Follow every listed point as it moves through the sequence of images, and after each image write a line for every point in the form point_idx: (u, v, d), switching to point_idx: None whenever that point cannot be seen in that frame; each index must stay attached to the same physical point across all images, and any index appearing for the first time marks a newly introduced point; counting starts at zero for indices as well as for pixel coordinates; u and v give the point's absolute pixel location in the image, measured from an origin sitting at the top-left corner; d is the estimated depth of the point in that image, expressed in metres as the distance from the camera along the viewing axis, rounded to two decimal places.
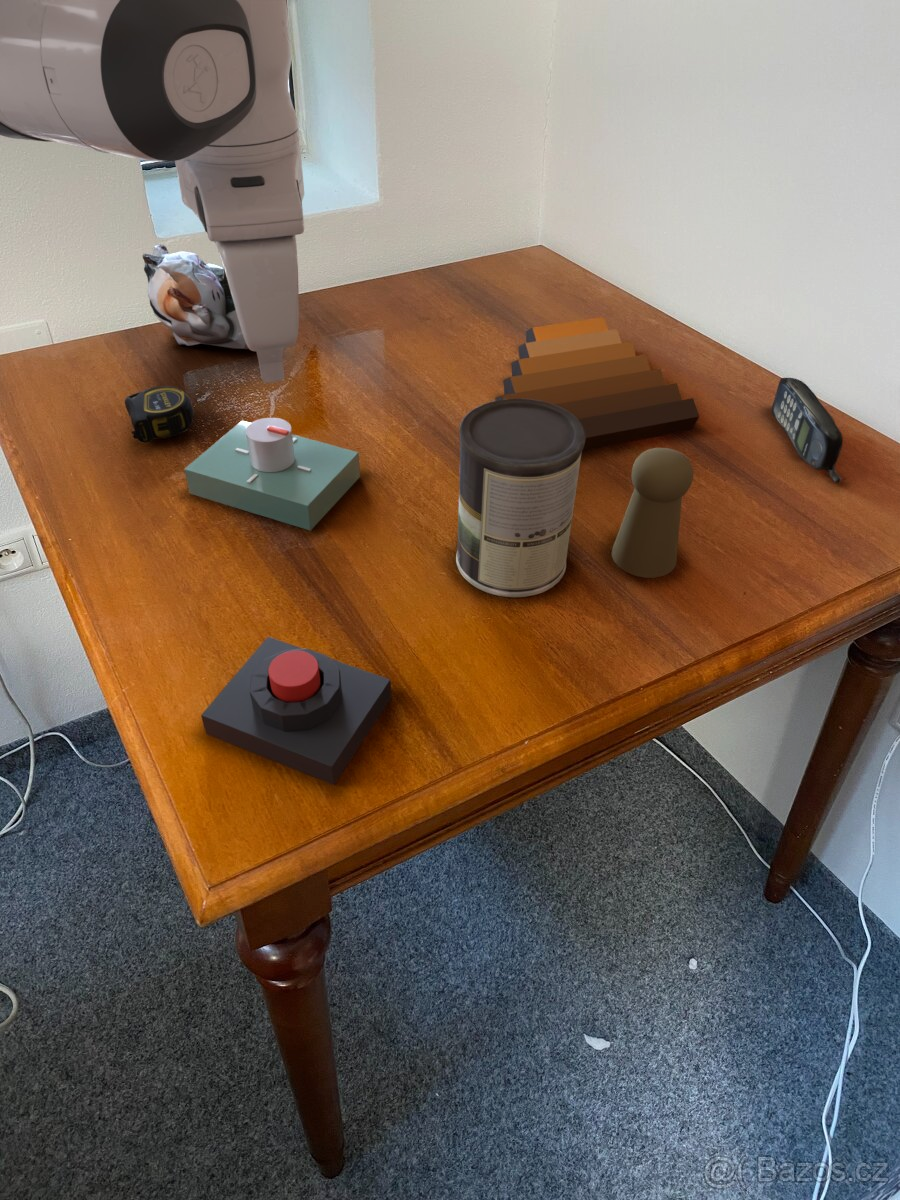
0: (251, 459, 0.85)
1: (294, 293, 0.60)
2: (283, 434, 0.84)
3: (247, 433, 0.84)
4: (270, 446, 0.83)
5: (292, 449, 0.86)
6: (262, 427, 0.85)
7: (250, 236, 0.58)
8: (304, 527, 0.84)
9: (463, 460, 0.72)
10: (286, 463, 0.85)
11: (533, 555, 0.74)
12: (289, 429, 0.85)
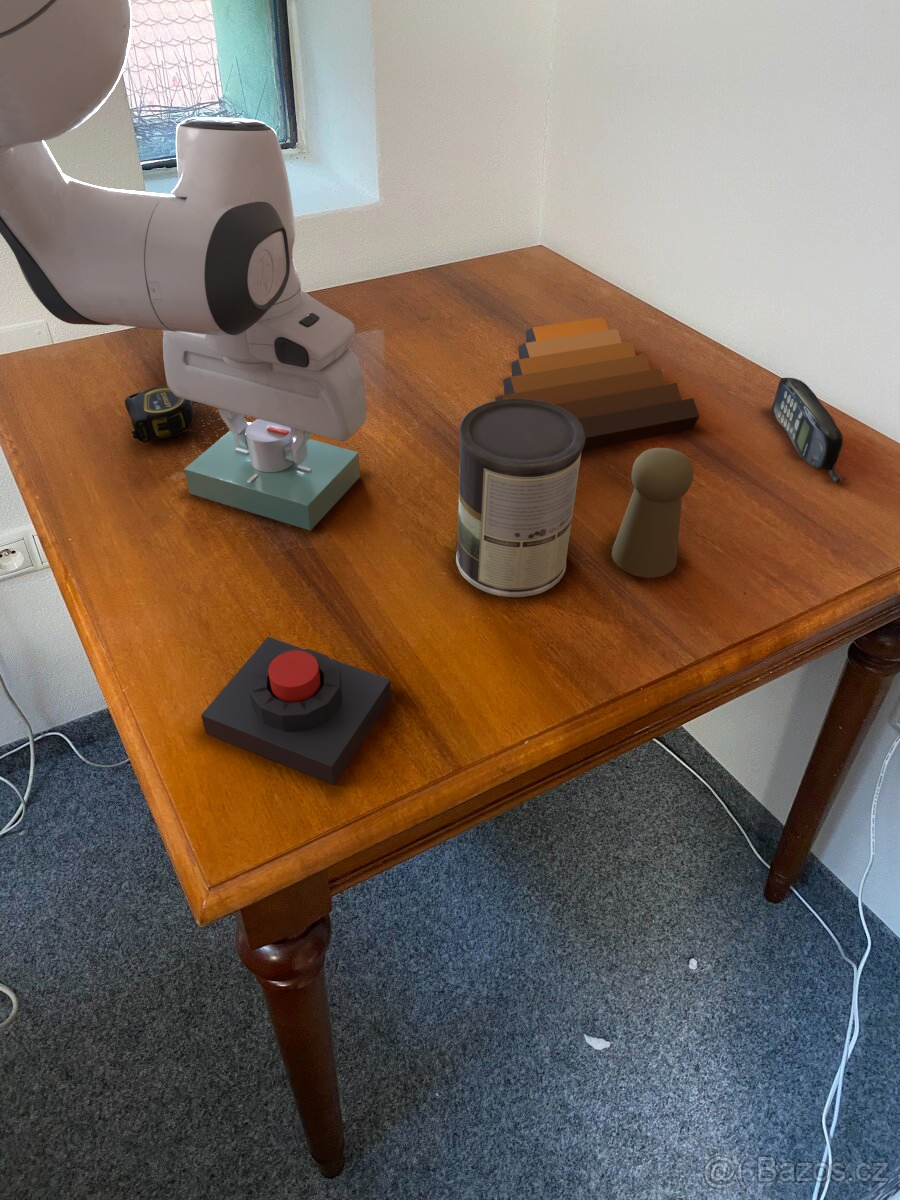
0: (251, 459, 0.85)
1: (363, 385, 0.79)
2: (283, 434, 0.84)
3: (247, 433, 0.84)
4: (270, 446, 0.83)
5: None
6: (262, 427, 0.85)
7: (338, 356, 0.75)
8: (304, 527, 0.84)
9: (463, 460, 0.72)
10: (286, 463, 0.85)
11: (533, 555, 0.74)
12: (289, 429, 0.85)
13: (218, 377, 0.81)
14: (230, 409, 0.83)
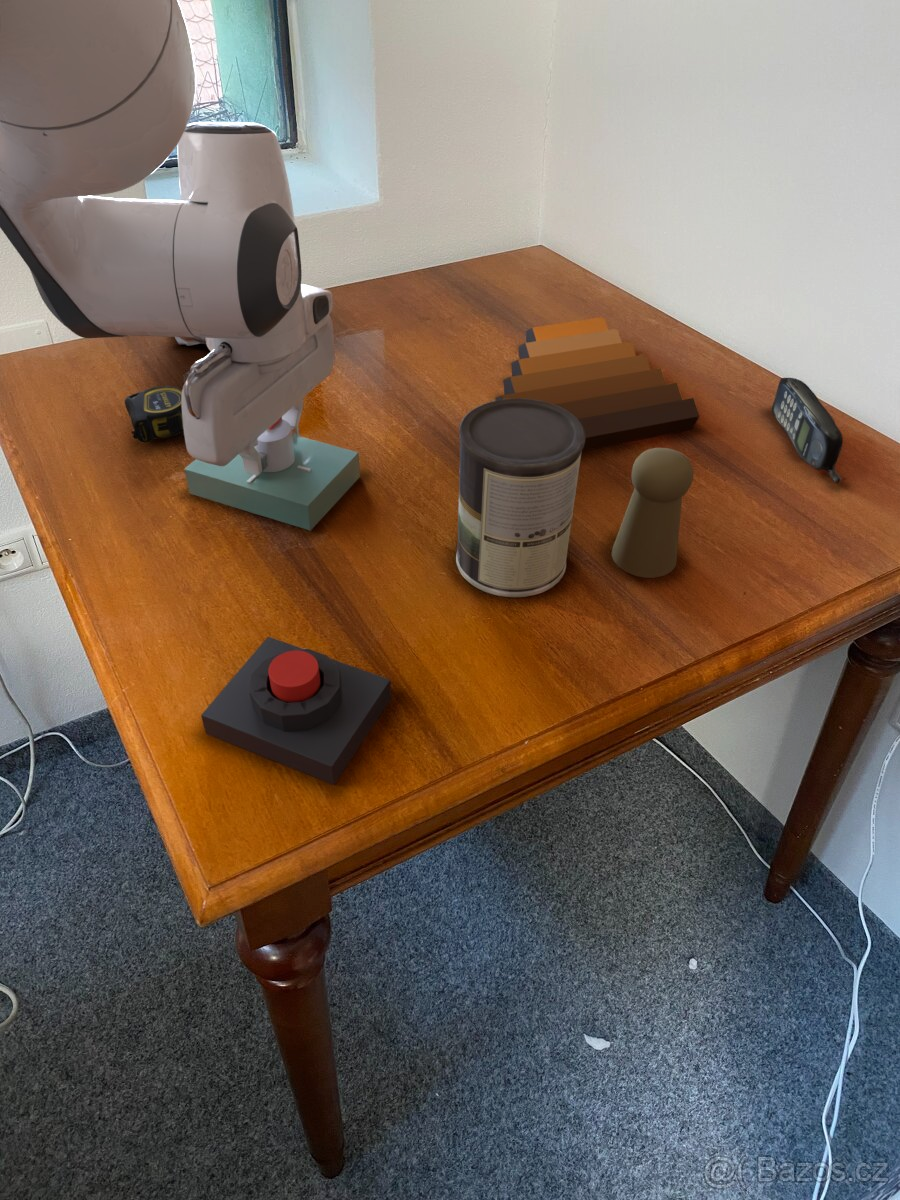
0: (281, 463, 0.85)
1: None
2: (279, 420, 0.86)
3: (274, 440, 0.83)
4: None
5: None
6: (264, 432, 0.84)
7: None
8: (304, 527, 0.84)
9: (463, 460, 0.72)
10: None
11: (533, 555, 0.74)
12: None
13: (257, 400, 0.78)
14: (266, 428, 0.81)
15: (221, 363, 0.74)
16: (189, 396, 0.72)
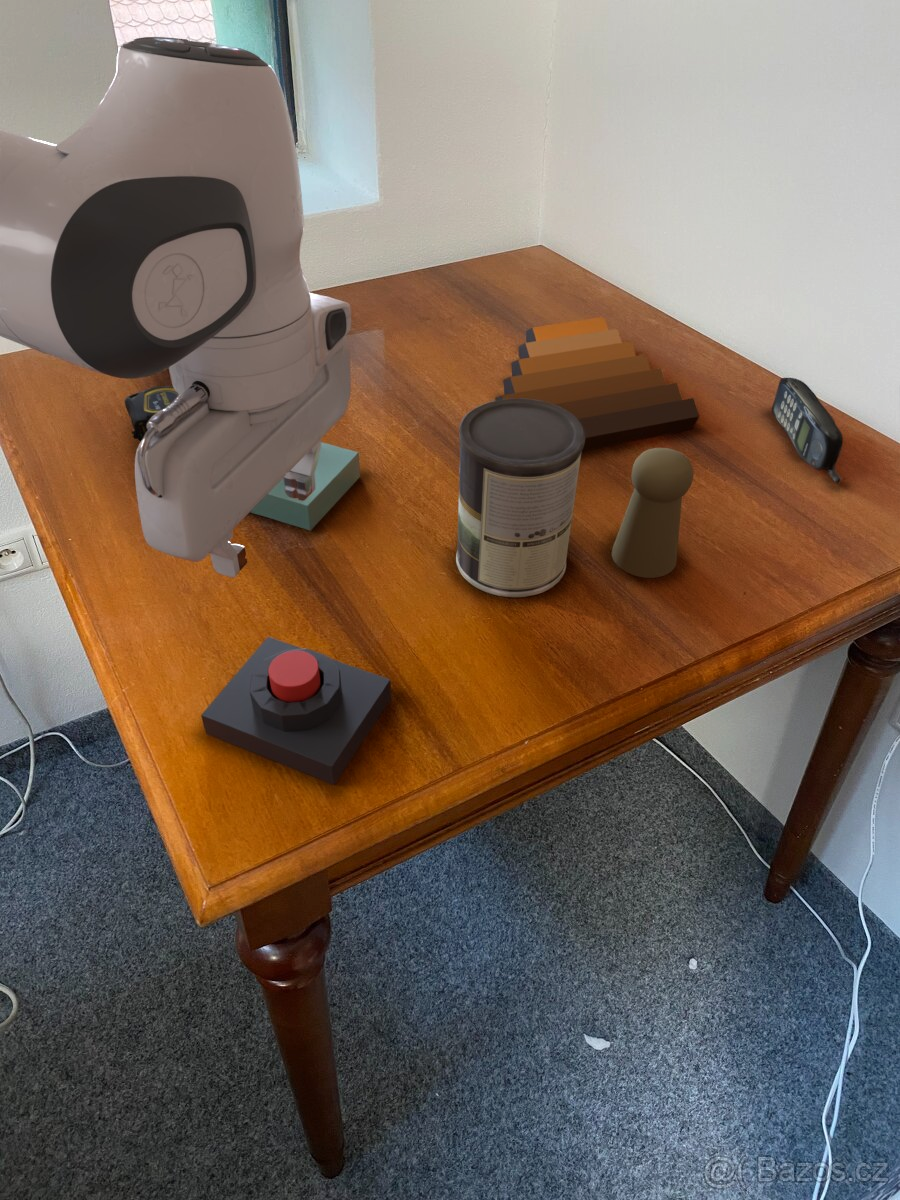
0: None
1: None
2: None
3: None
4: None
5: None
6: None
7: None
8: (304, 527, 0.84)
9: (463, 460, 0.72)
10: None
11: (533, 555, 0.74)
12: None
13: (247, 463, 0.54)
14: (260, 499, 0.57)
15: (194, 413, 0.50)
16: (146, 466, 0.47)
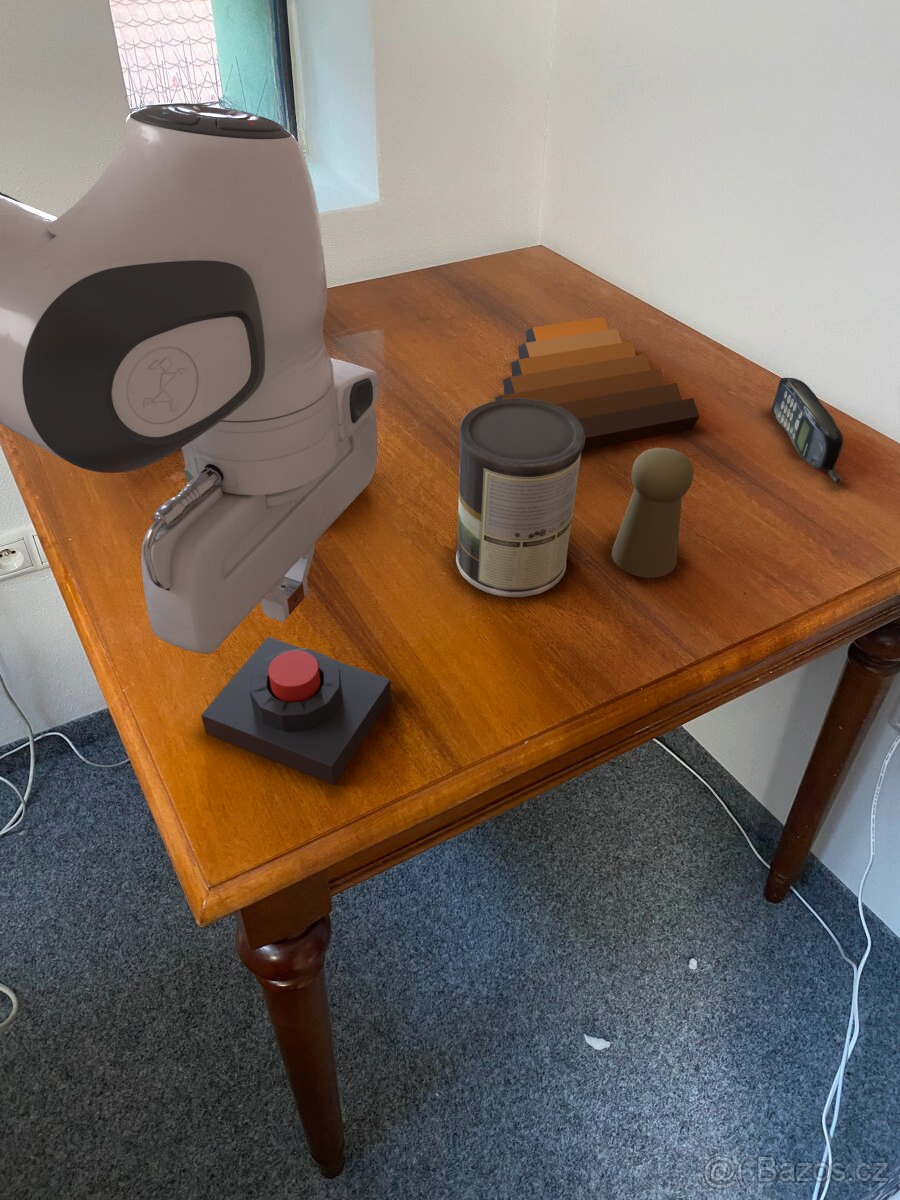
0: None
1: None
2: None
3: None
4: None
5: None
6: None
7: None
8: None
9: (463, 460, 0.72)
10: None
11: (533, 555, 0.74)
12: None
13: (264, 546, 0.50)
14: (277, 581, 0.53)
15: (206, 499, 0.46)
16: (152, 561, 0.44)
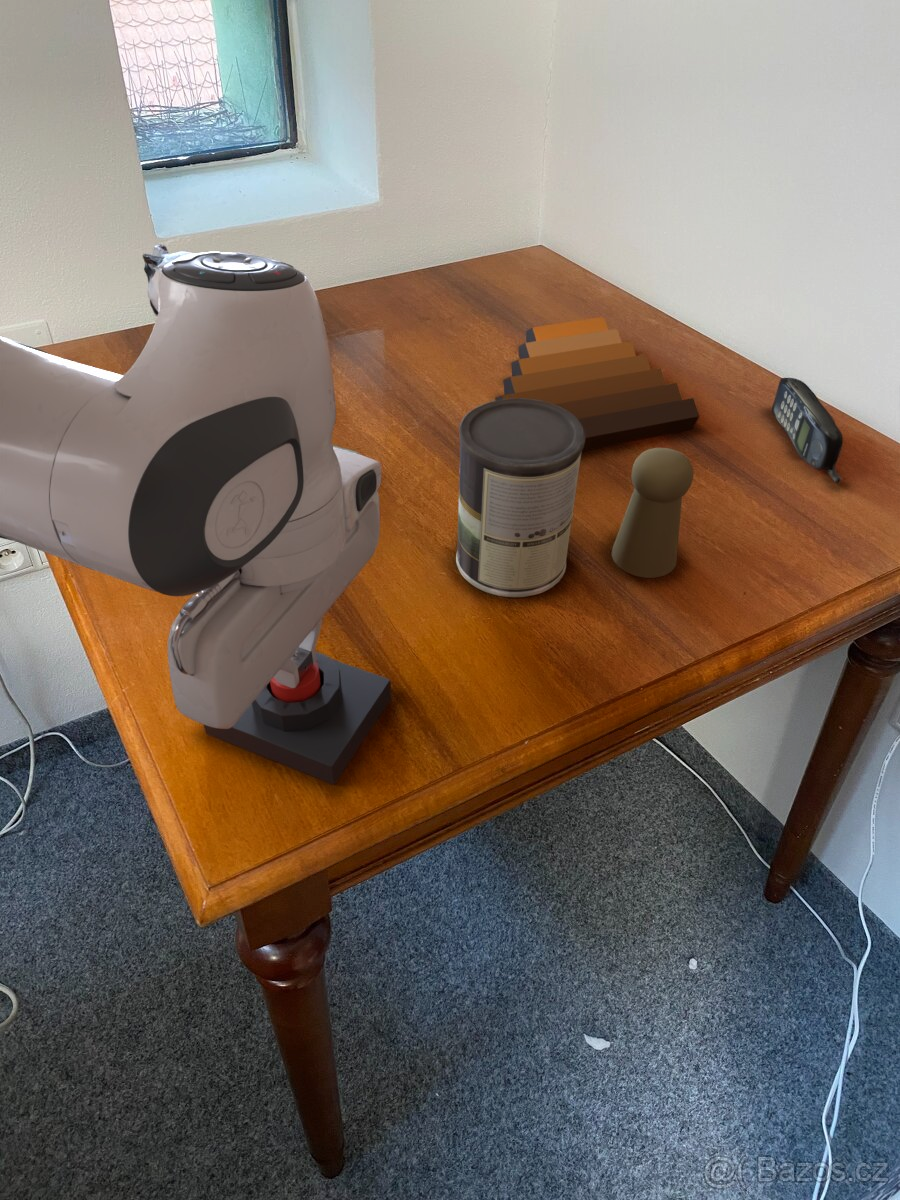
0: None
1: None
2: None
3: None
4: None
5: None
6: None
7: None
8: None
9: (463, 460, 0.72)
10: None
11: (533, 555, 0.74)
12: None
13: (277, 628, 0.55)
14: (289, 656, 0.57)
15: (226, 592, 0.51)
16: (178, 653, 0.48)
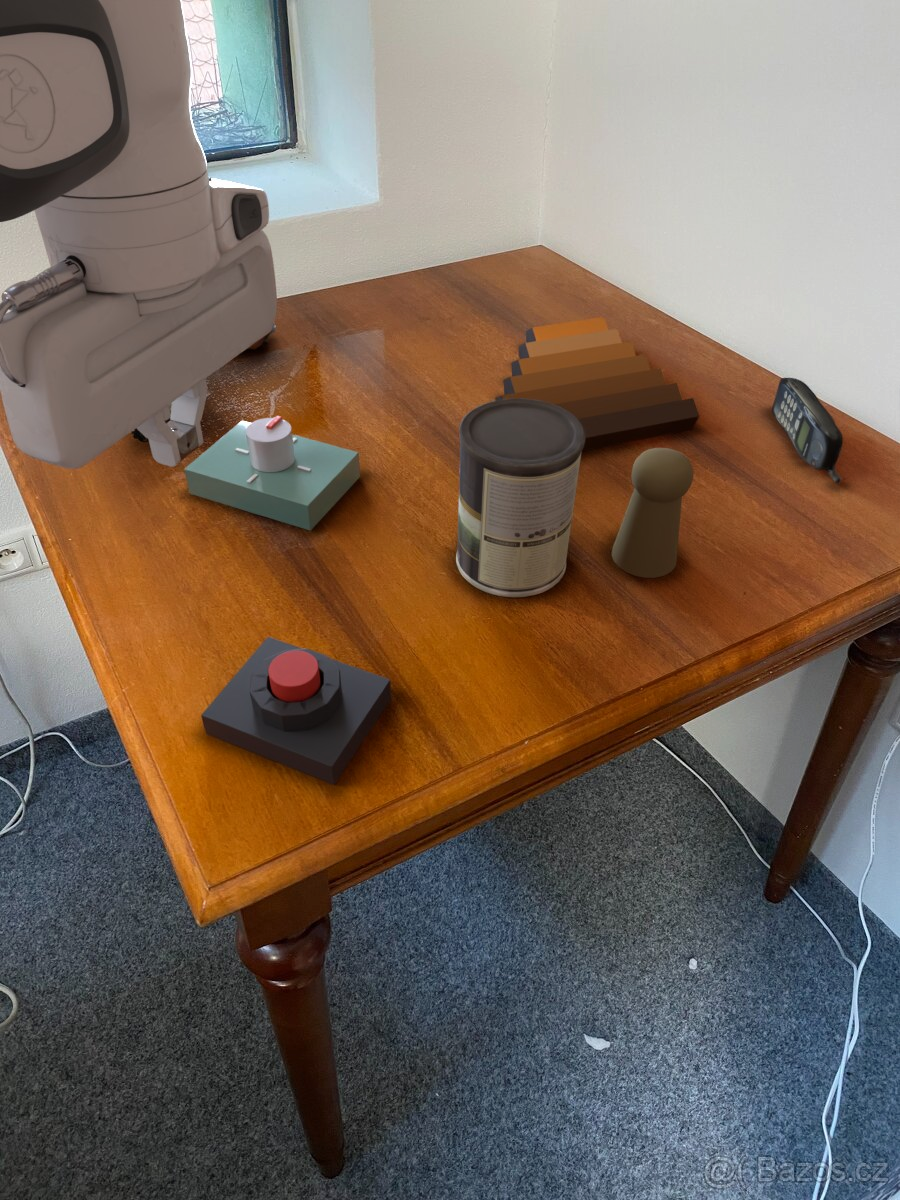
0: (281, 463, 0.85)
1: None
2: (279, 420, 0.86)
3: (274, 440, 0.83)
4: None
5: None
6: (264, 432, 0.84)
7: None
8: (304, 527, 0.84)
9: (463, 460, 0.72)
10: None
11: (533, 555, 0.74)
12: (270, 418, 0.86)
13: (138, 361, 0.47)
14: (158, 408, 0.50)
15: (66, 292, 0.43)
16: None
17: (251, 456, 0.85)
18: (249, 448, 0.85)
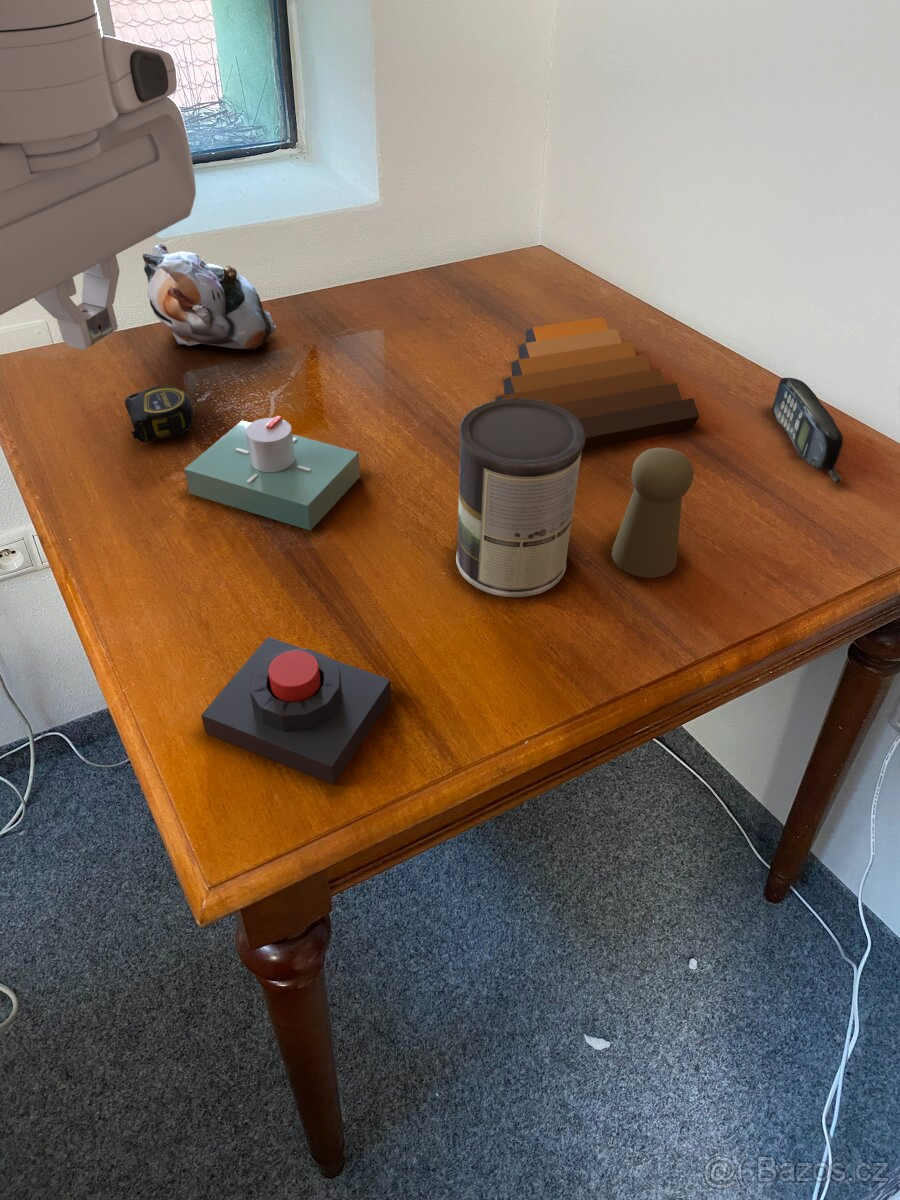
0: (281, 463, 0.85)
1: None
2: (279, 420, 0.86)
3: (274, 440, 0.83)
4: None
5: None
6: (264, 432, 0.84)
7: None
8: (304, 527, 0.84)
9: (463, 460, 0.72)
10: None
11: (533, 555, 0.74)
12: (270, 418, 0.86)
13: (32, 223, 0.45)
14: (59, 279, 0.48)
15: None
16: None
17: (251, 456, 0.85)
18: (249, 448, 0.85)
